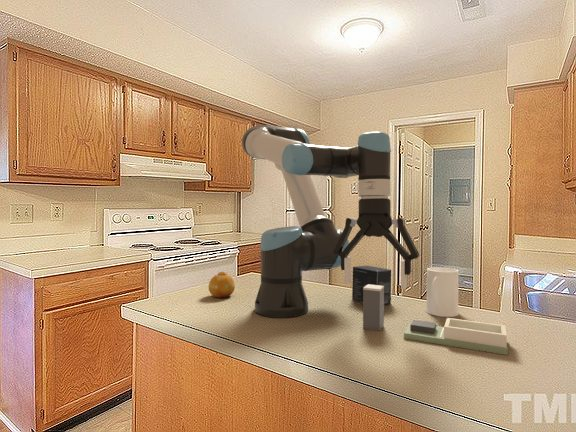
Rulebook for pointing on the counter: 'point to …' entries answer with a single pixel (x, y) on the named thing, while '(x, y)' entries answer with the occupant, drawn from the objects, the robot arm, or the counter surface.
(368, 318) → the plug
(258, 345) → the counter surface
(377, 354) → the counter surface
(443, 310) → the white upright cylinder
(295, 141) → the robot arm
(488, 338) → the tray
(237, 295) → the counter surface
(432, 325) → the board
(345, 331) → the counter surface
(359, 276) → the box
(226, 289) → the fruit
